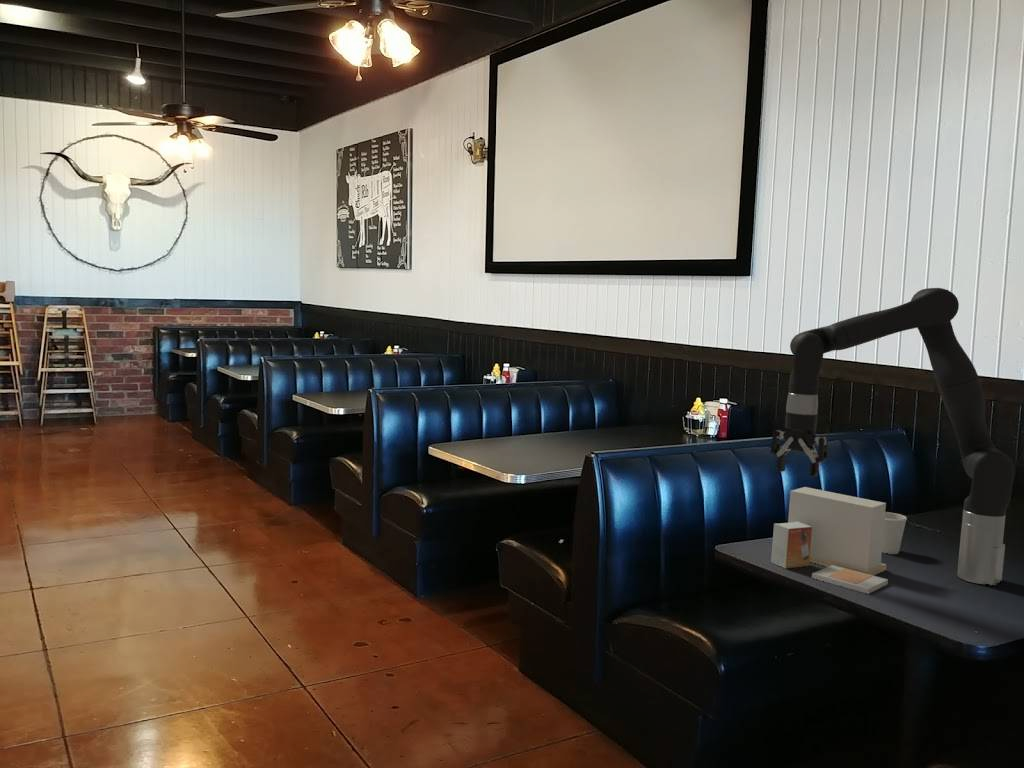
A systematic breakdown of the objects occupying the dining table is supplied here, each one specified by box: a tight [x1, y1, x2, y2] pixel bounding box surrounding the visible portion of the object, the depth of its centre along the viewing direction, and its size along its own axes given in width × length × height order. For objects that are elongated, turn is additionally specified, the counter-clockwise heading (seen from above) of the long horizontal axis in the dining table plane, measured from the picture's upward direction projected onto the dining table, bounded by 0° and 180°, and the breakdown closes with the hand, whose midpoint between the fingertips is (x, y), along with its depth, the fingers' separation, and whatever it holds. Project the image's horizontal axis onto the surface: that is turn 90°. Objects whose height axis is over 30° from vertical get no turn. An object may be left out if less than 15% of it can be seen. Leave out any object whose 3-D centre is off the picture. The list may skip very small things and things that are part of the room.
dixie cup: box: [882, 511, 908, 555], centre depth 237 cm, size 8×8×10 cm
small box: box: [770, 522, 812, 569], centre depth 221 cm, size 8×6×10 cm
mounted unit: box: [787, 486, 887, 576], centre depth 224 cm, size 24×10×18 cm, turn 44°
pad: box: [811, 565, 889, 595], centre depth 210 cm, size 14×11×1 cm
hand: (796, 474), depth 219 cm, fingers open, 8 cm apart
